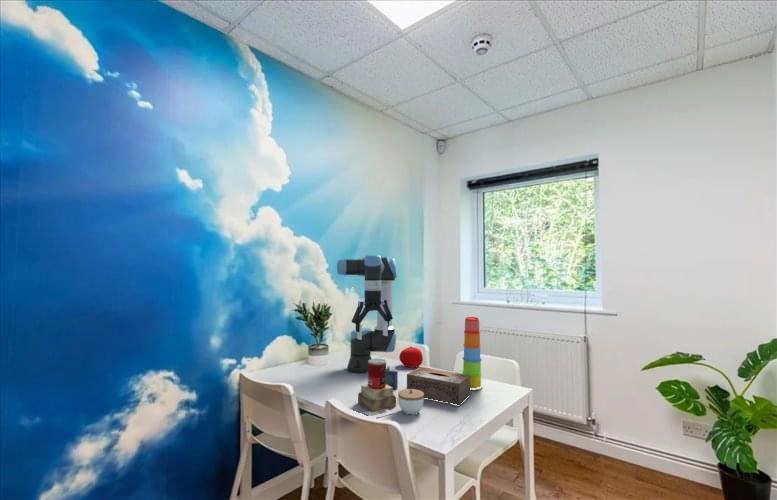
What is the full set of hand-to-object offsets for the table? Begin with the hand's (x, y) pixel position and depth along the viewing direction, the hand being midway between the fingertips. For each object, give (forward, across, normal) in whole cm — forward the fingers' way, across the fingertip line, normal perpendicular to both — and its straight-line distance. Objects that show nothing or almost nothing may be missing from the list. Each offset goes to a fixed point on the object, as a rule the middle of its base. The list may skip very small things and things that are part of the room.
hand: (372, 337), depth 165 cm
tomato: (+29, +49, +34) cm, 66 cm away
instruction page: (+28, -5, -13) cm, 31 cm away
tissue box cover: (+29, +30, -11) cm, 43 cm away
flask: (+29, +16, +10) cm, 34 cm away
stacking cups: (+29, +51, -12) cm, 60 cm away
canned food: (+20, 0, -4) cm, 21 cm away
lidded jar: (+28, +7, -19) cm, 35 cm away
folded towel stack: (+28, -1, -5) cm, 29 cm away
